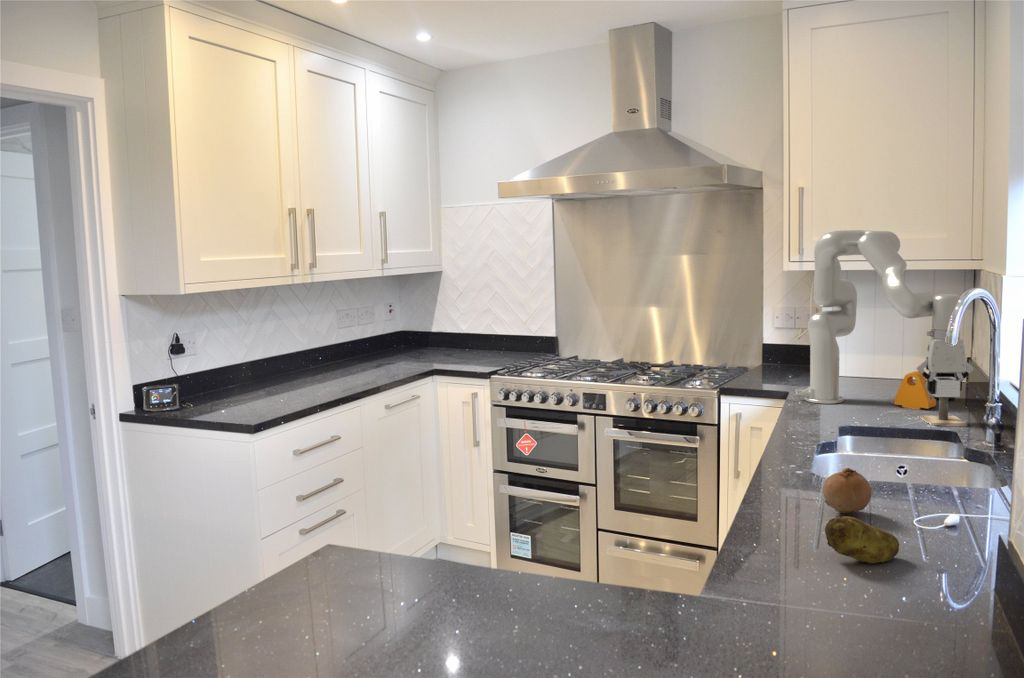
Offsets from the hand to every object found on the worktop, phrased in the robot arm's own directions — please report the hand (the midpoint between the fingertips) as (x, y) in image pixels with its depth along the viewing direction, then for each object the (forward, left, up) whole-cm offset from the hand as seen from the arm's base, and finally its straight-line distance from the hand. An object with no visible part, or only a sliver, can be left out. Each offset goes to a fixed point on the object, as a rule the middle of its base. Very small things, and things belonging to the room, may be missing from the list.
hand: (944, 392), depth 242 cm
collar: (0, 0, -1) cm, 1 cm away
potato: (-50, -111, -9) cm, 122 cm away
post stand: (0, 0, -9) cm, 9 cm away
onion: (-47, -86, -9) cm, 98 cm away
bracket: (-1, +23, -10) cm, 25 cm away
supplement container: (+12, +35, -9) cm, 38 cm away
